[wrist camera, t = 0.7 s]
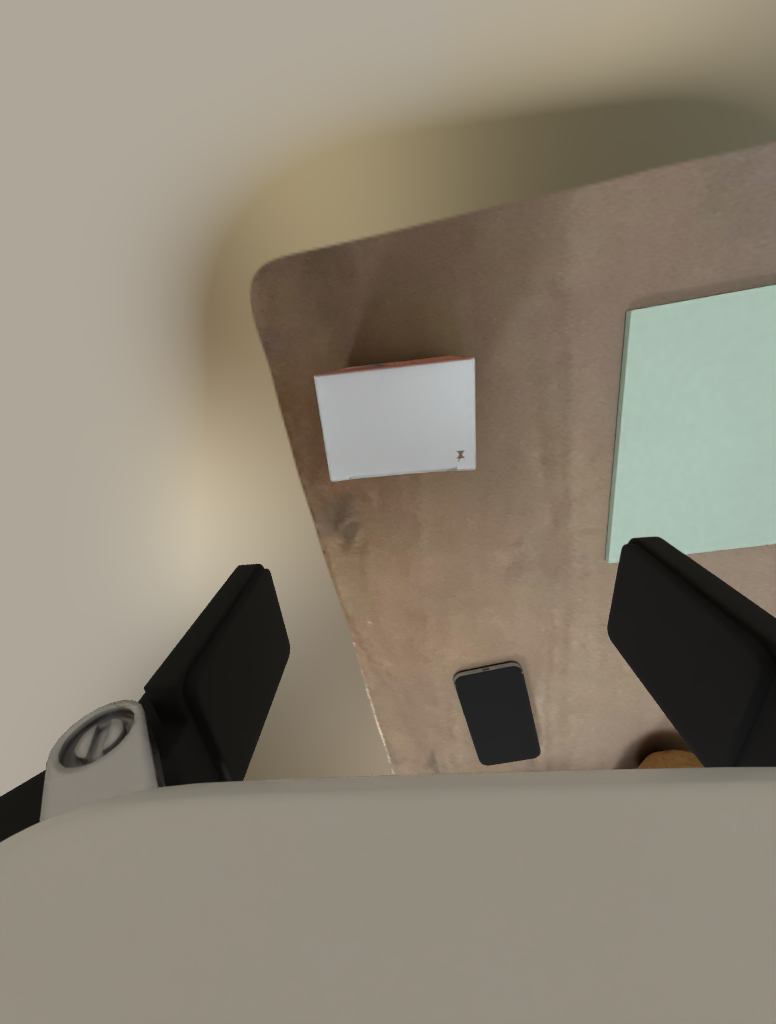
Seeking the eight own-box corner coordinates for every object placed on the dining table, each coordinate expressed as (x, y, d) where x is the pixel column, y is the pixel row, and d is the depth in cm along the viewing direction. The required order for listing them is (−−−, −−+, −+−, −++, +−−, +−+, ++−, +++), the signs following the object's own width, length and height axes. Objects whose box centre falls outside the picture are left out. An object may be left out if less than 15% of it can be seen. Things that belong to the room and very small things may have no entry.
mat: (626, 311, 25) (631, 310, 24) (956, 252, 23) (969, 249, 22) (604, 559, 33) (608, 563, 32) (849, 531, 31) (858, 534, 30)
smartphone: (521, 664, 37) (542, 757, 42) (519, 659, 37) (540, 751, 43) (451, 678, 38) (480, 767, 43) (451, 673, 39) (479, 761, 44)
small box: (451, 354, 26) (480, 354, 17) (453, 431, 28) (480, 471, 19) (342, 366, 27) (310, 372, 17) (353, 441, 29) (329, 483, 19)
